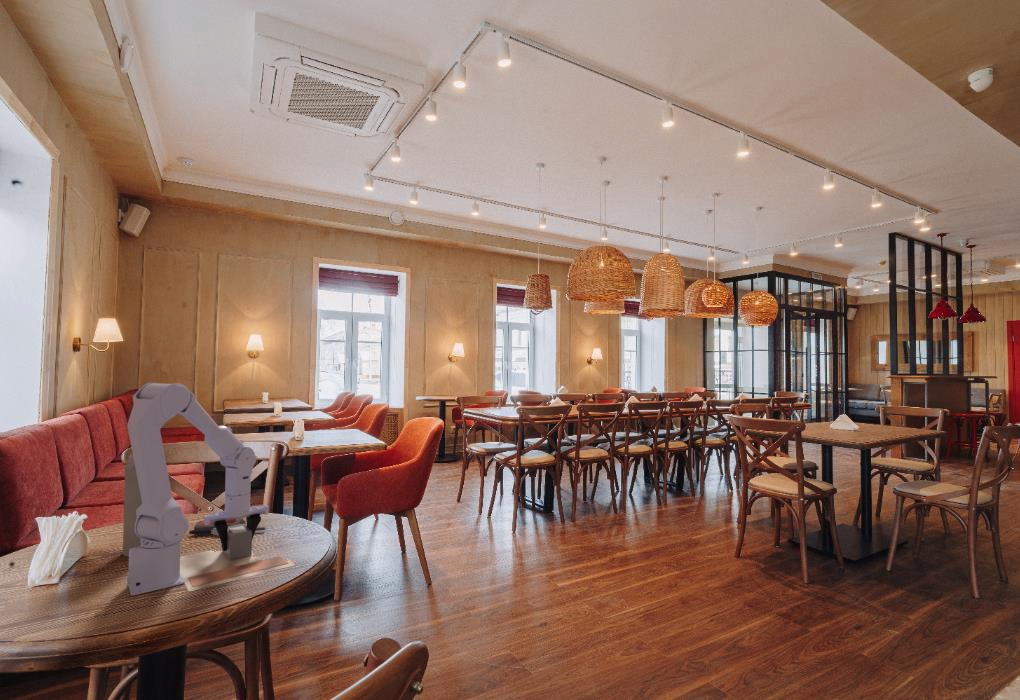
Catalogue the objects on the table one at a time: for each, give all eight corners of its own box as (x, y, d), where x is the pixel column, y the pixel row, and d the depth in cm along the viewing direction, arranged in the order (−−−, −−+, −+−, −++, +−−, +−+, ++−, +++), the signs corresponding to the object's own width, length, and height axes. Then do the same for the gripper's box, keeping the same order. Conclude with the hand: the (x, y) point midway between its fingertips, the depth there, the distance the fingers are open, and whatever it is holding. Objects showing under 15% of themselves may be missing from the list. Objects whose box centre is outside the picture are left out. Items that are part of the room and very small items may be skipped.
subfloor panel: (188, 592, 107) (188, 591, 107) (171, 558, 126) (171, 557, 126) (295, 565, 122) (295, 564, 122) (266, 538, 140) (266, 538, 140)
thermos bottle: (127, 548, 132) (129, 440, 133) (163, 543, 136) (165, 439, 137) (118, 558, 125) (121, 445, 126) (157, 553, 129) (160, 443, 129)
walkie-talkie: (185, 540, 139) (264, 534, 144) (185, 524, 139) (264, 519, 144) (196, 530, 148) (271, 525, 153) (197, 515, 148) (271, 510, 153)
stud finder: (229, 560, 124) (229, 534, 124) (222, 551, 130) (222, 526, 130) (251, 555, 127) (252, 530, 128) (243, 546, 133) (243, 522, 134)
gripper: (263, 486, 137) (262, 536, 137) (202, 495, 127) (200, 549, 127) (271, 491, 132) (270, 543, 131) (207, 500, 122) (206, 557, 122)
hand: (236, 547), depth 129 cm, fingers closed on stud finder, 5 cm apart
